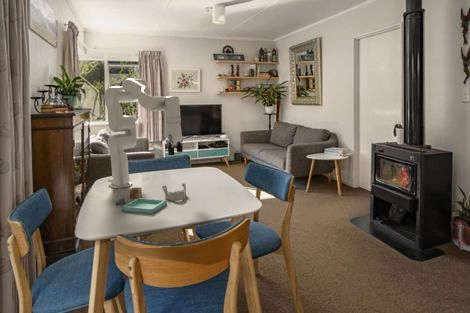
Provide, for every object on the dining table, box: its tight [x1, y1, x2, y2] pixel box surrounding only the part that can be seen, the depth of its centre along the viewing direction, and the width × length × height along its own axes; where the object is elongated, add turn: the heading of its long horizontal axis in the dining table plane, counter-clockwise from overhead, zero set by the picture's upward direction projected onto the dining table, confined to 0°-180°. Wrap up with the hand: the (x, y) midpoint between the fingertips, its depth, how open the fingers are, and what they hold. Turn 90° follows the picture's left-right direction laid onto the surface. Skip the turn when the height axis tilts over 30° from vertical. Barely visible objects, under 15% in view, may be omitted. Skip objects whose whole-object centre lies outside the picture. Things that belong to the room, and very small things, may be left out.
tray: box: [121, 197, 168, 215], centre depth 159 cm, size 16×14×2 cm
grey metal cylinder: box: [114, 191, 126, 206], centre depth 165 cm, size 5×5×6 cm
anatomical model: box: [161, 182, 187, 202], centre depth 173 cm, size 13×11×10 cm
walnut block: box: [128, 187, 143, 200], centre depth 175 cm, size 5×5×5 cm
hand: (175, 153), depth 170 cm, fingers open, 9 cm apart
